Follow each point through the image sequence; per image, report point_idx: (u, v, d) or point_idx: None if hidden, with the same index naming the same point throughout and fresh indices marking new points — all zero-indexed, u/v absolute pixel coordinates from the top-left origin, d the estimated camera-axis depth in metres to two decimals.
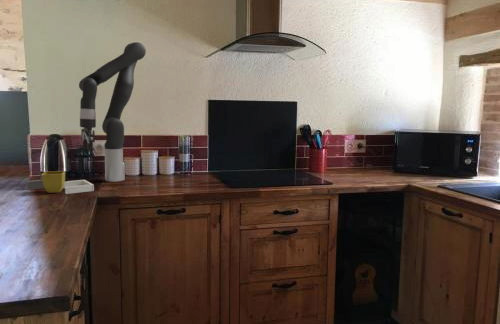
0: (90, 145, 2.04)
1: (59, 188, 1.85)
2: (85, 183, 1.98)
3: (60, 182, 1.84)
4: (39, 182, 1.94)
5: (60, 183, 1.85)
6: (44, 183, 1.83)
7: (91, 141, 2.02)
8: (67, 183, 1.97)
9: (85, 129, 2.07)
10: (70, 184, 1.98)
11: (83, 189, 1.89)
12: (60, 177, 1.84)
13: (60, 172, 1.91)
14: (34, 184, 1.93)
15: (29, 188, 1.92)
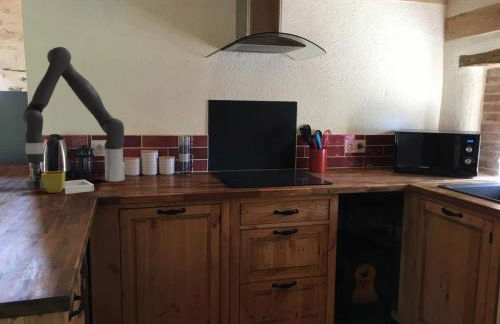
0: (37, 183, 1.92)
1: (59, 188, 1.85)
2: (85, 183, 1.98)
3: (60, 182, 1.84)
4: None
5: (60, 183, 1.85)
6: (44, 183, 1.83)
7: (37, 179, 1.91)
8: (67, 183, 1.97)
9: (32, 164, 1.93)
10: (70, 184, 1.98)
11: (83, 189, 1.89)
12: (60, 177, 1.84)
13: (60, 172, 1.91)
14: (34, 184, 1.93)
15: (29, 188, 1.92)
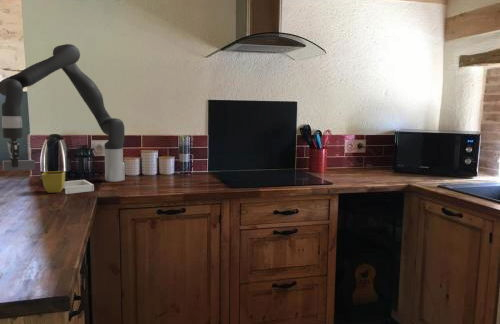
0: (14, 161, 1.74)
1: (59, 188, 1.85)
2: (85, 183, 1.98)
3: (60, 182, 1.84)
4: None
5: (60, 183, 1.85)
6: (44, 183, 1.83)
7: (14, 156, 1.72)
8: (67, 183, 1.97)
9: (10, 140, 1.75)
10: (70, 184, 1.98)
11: (83, 189, 1.89)
12: (60, 177, 1.84)
13: (60, 172, 1.91)
14: (11, 165, 1.75)
15: (5, 168, 1.73)
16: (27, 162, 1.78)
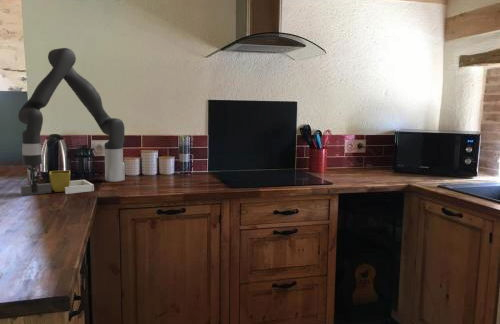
0: (34, 187, 1.80)
1: None
2: (85, 183, 1.98)
3: (68, 181, 1.87)
4: None
5: (68, 182, 1.87)
6: (51, 182, 1.84)
7: (34, 182, 1.78)
8: None
9: (29, 166, 1.81)
10: (70, 184, 1.98)
11: (83, 189, 1.89)
12: (68, 176, 1.87)
13: (65, 171, 1.93)
14: (28, 190, 1.80)
15: (23, 193, 1.79)
16: (43, 186, 1.84)
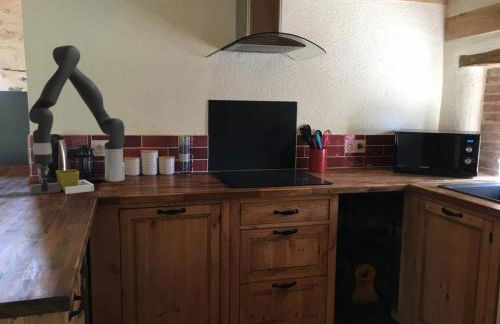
0: (44, 185, 1.82)
1: None
2: (85, 183, 1.98)
3: (77, 180, 1.90)
4: None
5: (77, 181, 1.90)
6: (61, 181, 1.87)
7: (45, 181, 1.81)
8: None
9: (40, 165, 1.83)
10: None
11: (83, 189, 1.89)
12: (77, 175, 1.90)
13: (70, 171, 1.96)
14: (38, 189, 1.82)
15: (33, 192, 1.81)
16: (53, 185, 1.86)
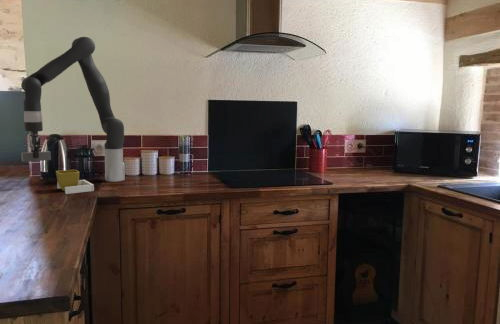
0: (35, 152, 1.90)
1: None
2: (85, 183, 1.98)
3: (77, 180, 1.90)
4: None
5: (77, 181, 1.91)
6: (61, 181, 1.87)
7: (36, 148, 1.88)
8: None
9: (31, 133, 1.91)
10: None
11: (83, 189, 1.89)
12: (77, 175, 1.90)
13: (70, 171, 1.96)
14: (29, 156, 1.90)
15: (24, 160, 1.89)
16: (44, 153, 1.94)
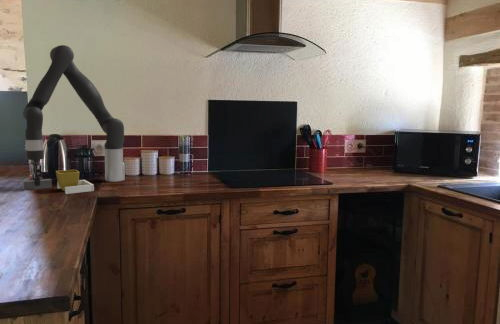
0: (37, 180, 1.92)
1: None
2: (85, 183, 1.98)
3: (77, 180, 1.90)
4: None
5: (77, 181, 1.91)
6: (61, 181, 1.87)
7: (37, 176, 1.90)
8: None
9: (32, 161, 1.93)
10: None
11: (83, 189, 1.89)
12: (77, 175, 1.90)
13: (70, 171, 1.96)
14: (30, 185, 1.92)
15: (25, 188, 1.91)
16: (45, 181, 1.96)
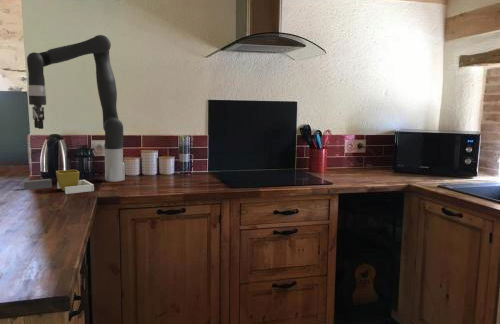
0: (40, 123, 1.96)
1: None
2: (85, 183, 1.98)
3: (77, 180, 1.90)
4: (35, 182, 1.93)
5: (77, 181, 1.91)
6: (61, 181, 1.87)
7: (40, 118, 1.94)
8: None
9: (35, 107, 1.99)
10: None
11: (83, 189, 1.89)
12: (77, 175, 1.90)
13: (70, 171, 1.96)
14: (30, 185, 1.92)
15: (25, 188, 1.91)
16: (45, 181, 1.96)
